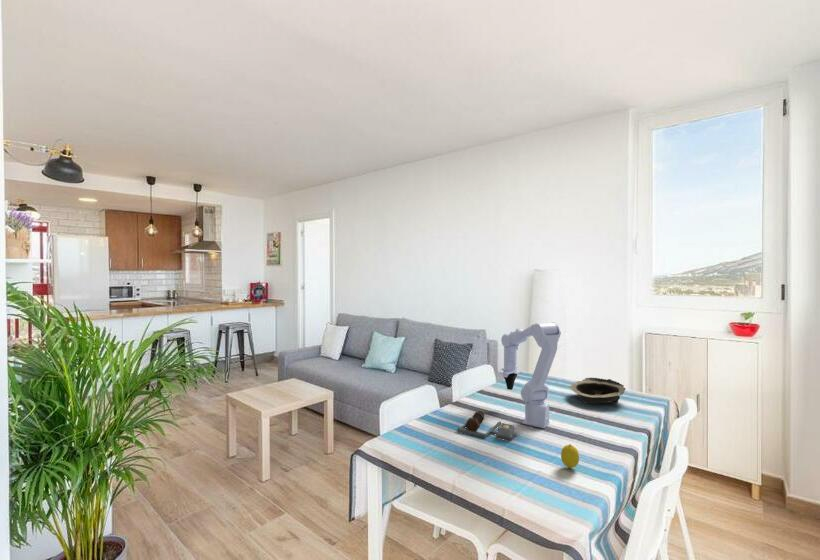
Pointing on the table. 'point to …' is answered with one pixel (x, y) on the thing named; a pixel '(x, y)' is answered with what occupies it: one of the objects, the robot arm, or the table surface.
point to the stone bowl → (598, 390)
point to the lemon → (570, 456)
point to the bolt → (475, 421)
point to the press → (502, 432)
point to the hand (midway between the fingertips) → (509, 389)
